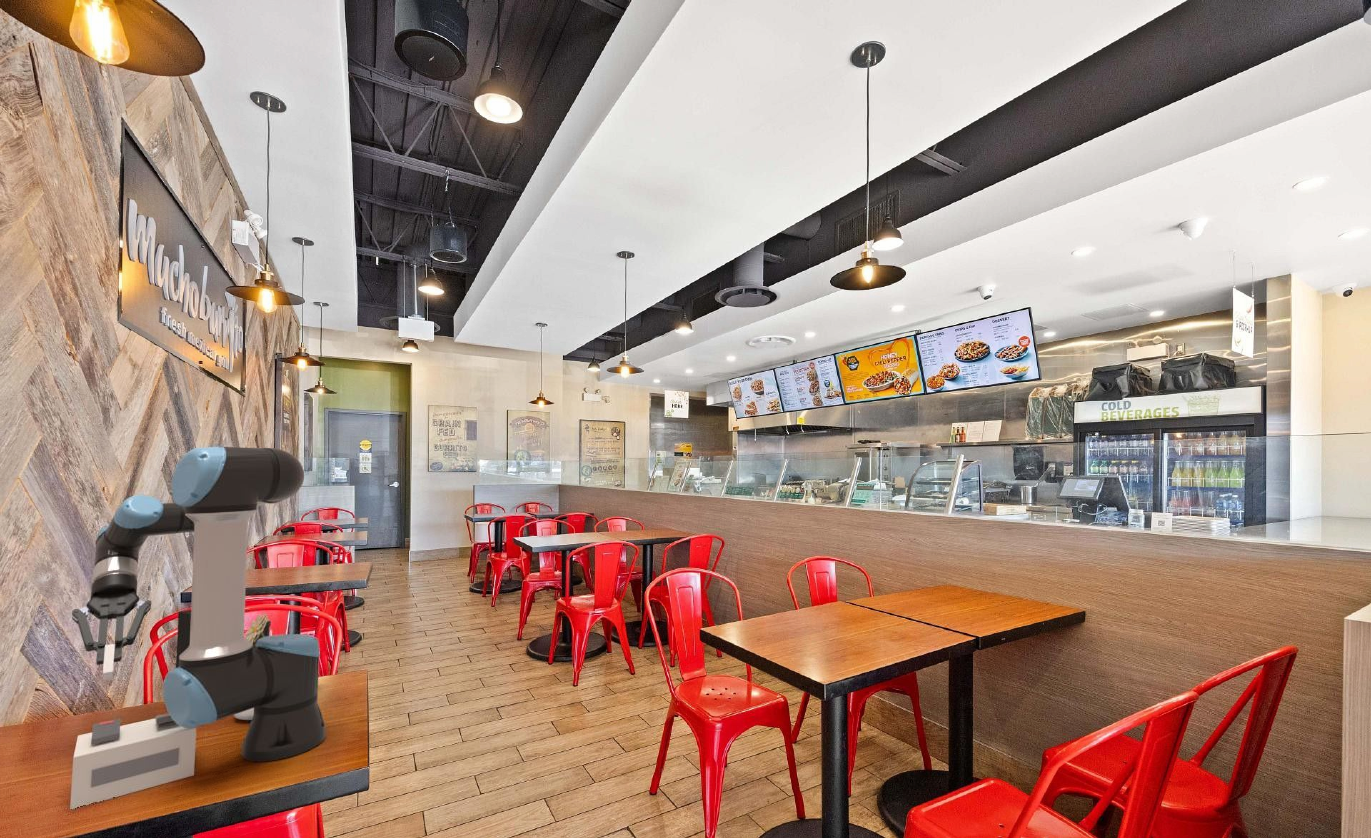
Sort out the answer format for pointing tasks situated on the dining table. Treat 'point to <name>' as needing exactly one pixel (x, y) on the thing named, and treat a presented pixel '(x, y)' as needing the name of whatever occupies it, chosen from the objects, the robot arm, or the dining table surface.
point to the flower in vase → (252, 634)
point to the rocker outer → (105, 731)
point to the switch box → (131, 761)
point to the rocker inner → (163, 718)
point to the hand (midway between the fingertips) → (107, 675)
